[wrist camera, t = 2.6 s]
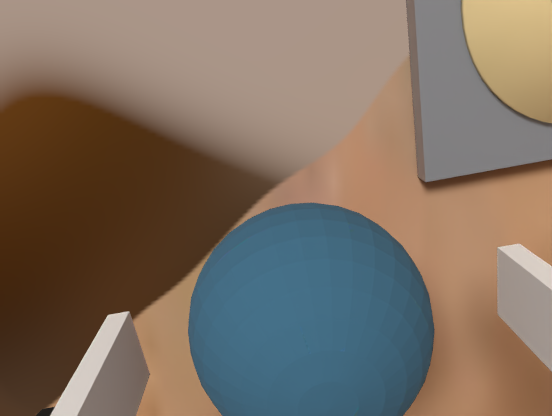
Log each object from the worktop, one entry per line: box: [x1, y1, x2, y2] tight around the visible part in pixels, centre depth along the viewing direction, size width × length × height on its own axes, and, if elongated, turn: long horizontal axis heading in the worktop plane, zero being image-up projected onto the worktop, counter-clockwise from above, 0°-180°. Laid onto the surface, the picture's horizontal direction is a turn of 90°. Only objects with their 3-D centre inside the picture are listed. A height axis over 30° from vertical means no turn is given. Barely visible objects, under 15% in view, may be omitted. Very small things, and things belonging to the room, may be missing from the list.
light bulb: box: [188, 203, 434, 416], centre depth 17 cm, size 8×8×12 cm
